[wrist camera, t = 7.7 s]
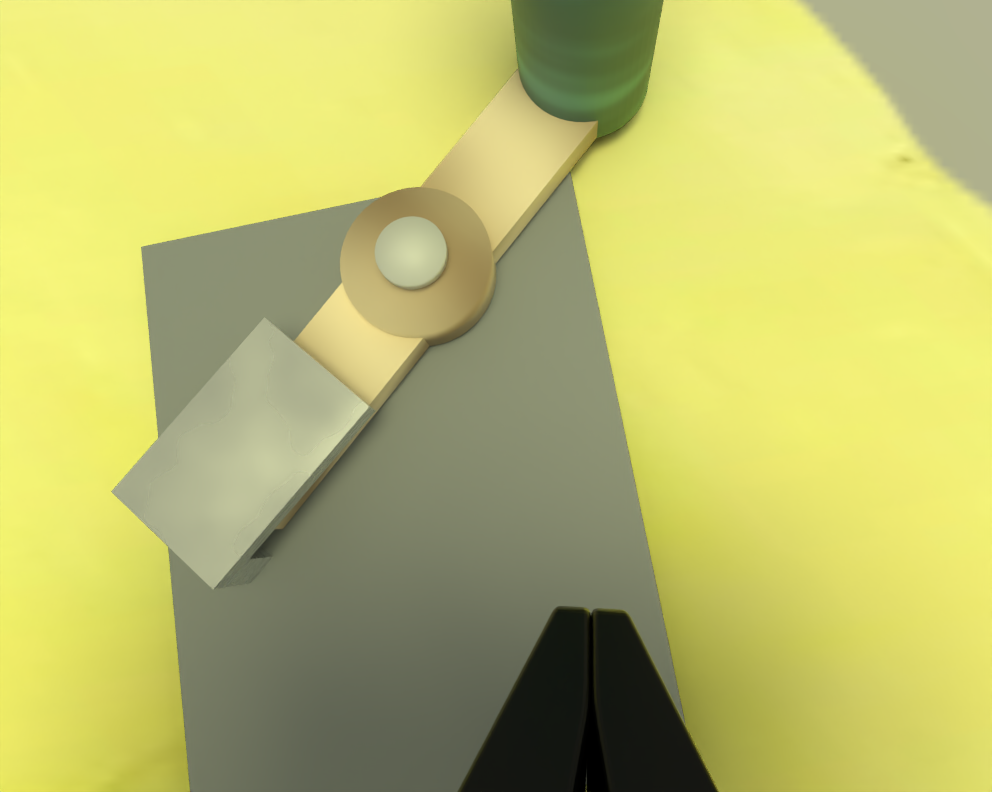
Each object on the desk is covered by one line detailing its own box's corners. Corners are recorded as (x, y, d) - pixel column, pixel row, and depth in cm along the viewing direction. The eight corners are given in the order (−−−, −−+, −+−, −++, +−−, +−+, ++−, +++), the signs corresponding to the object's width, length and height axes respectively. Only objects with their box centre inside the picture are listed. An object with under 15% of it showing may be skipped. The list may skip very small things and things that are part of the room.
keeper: (294, 338, 23) (264, 317, 21) (389, 419, 23) (369, 406, 20) (157, 495, 23) (111, 492, 21) (250, 583, 22) (213, 589, 20)
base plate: (690, 761, 21) (712, 800, 18) (205, 837, 22) (146, 888, 19) (567, 167, 24) (567, 115, 21) (151, 253, 25) (93, 215, 22)
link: (300, 544, 22) (-68, 564, 9) (192, 452, 23) (-282, 353, 10) (679, 69, 24) (813, -478, 11) (566, -2, 24) (566, -590, 12)
